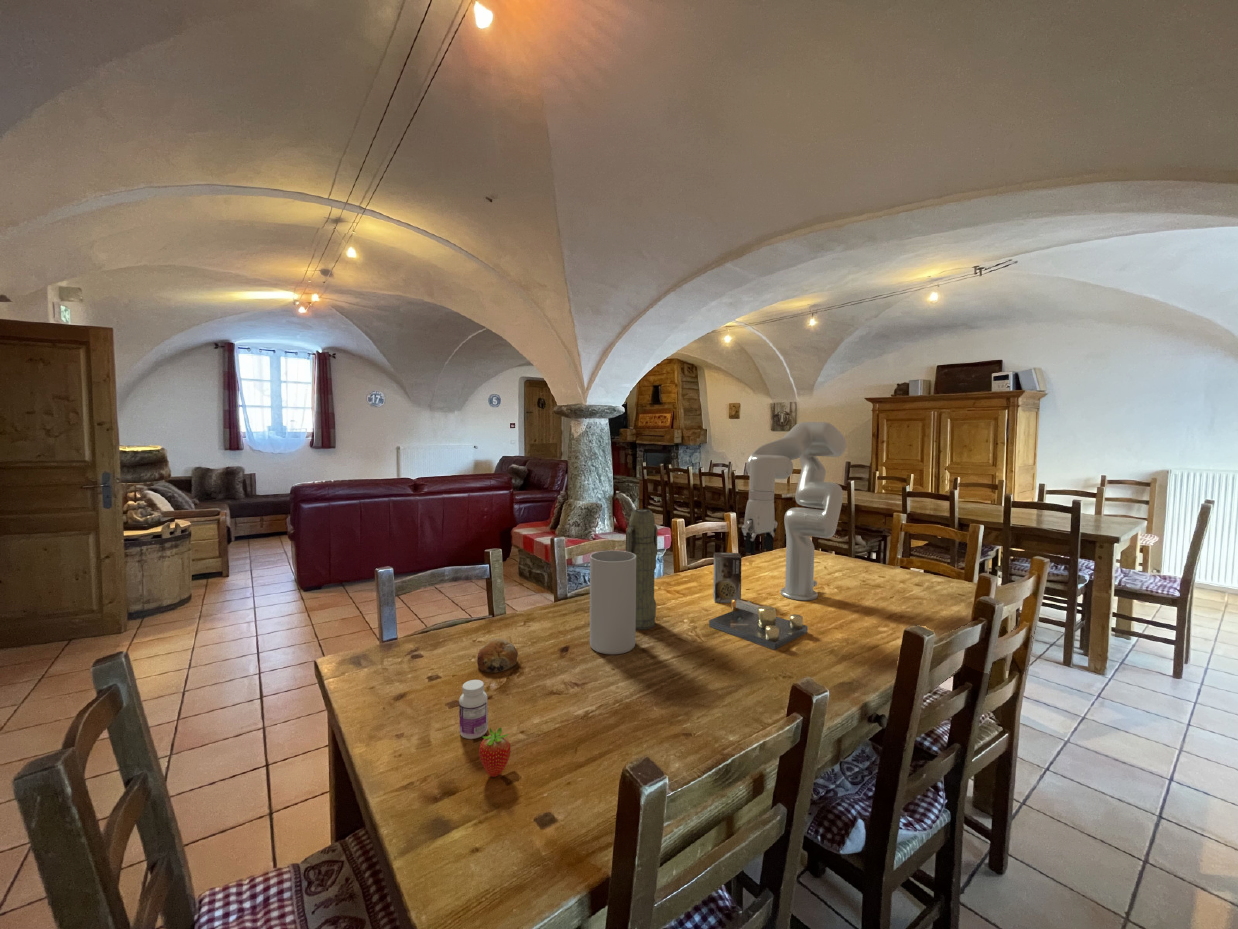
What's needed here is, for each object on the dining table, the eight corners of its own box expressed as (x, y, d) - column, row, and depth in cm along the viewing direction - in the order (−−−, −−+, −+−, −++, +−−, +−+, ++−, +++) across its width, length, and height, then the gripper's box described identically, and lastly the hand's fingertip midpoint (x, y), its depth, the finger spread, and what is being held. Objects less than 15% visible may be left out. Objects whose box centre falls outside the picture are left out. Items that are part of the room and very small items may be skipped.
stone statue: (664, 622, 159) (665, 509, 156) (640, 633, 150) (641, 514, 148) (641, 615, 165) (643, 506, 162) (617, 625, 156) (618, 510, 153)
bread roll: (521, 675, 132) (527, 643, 135) (501, 675, 123) (509, 640, 125) (487, 669, 135) (494, 637, 138) (466, 668, 126) (474, 634, 129)
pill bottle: (462, 724, 104) (462, 678, 103) (489, 723, 104) (489, 677, 103) (456, 740, 98) (456, 691, 98) (485, 739, 99) (484, 690, 98)
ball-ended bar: (778, 625, 151) (779, 609, 151) (769, 630, 148) (770, 613, 147) (736, 612, 162) (737, 596, 162) (727, 616, 159) (727, 600, 158)
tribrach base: (743, 612, 168) (743, 597, 167) (807, 632, 152) (807, 616, 151) (709, 626, 156) (709, 610, 155) (774, 650, 140) (774, 632, 139)
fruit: (473, 780, 87) (472, 734, 87) (491, 761, 92) (490, 718, 92) (500, 788, 85) (499, 741, 85) (517, 769, 90) (516, 725, 90)
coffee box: (738, 597, 183) (739, 552, 182) (741, 603, 176) (742, 557, 175) (712, 596, 184) (713, 551, 182) (714, 602, 177) (715, 556, 176)
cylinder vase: (642, 641, 145) (643, 553, 143) (623, 659, 133) (624, 564, 131) (602, 633, 150) (602, 548, 148) (581, 650, 138) (581, 558, 137)
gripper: (766, 493, 167) (764, 546, 168) (734, 496, 156) (731, 552, 157) (787, 495, 162) (785, 550, 162) (755, 498, 150) (752, 557, 151)
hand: (759, 551), depth 160 cm, fingers open, 9 cm apart
